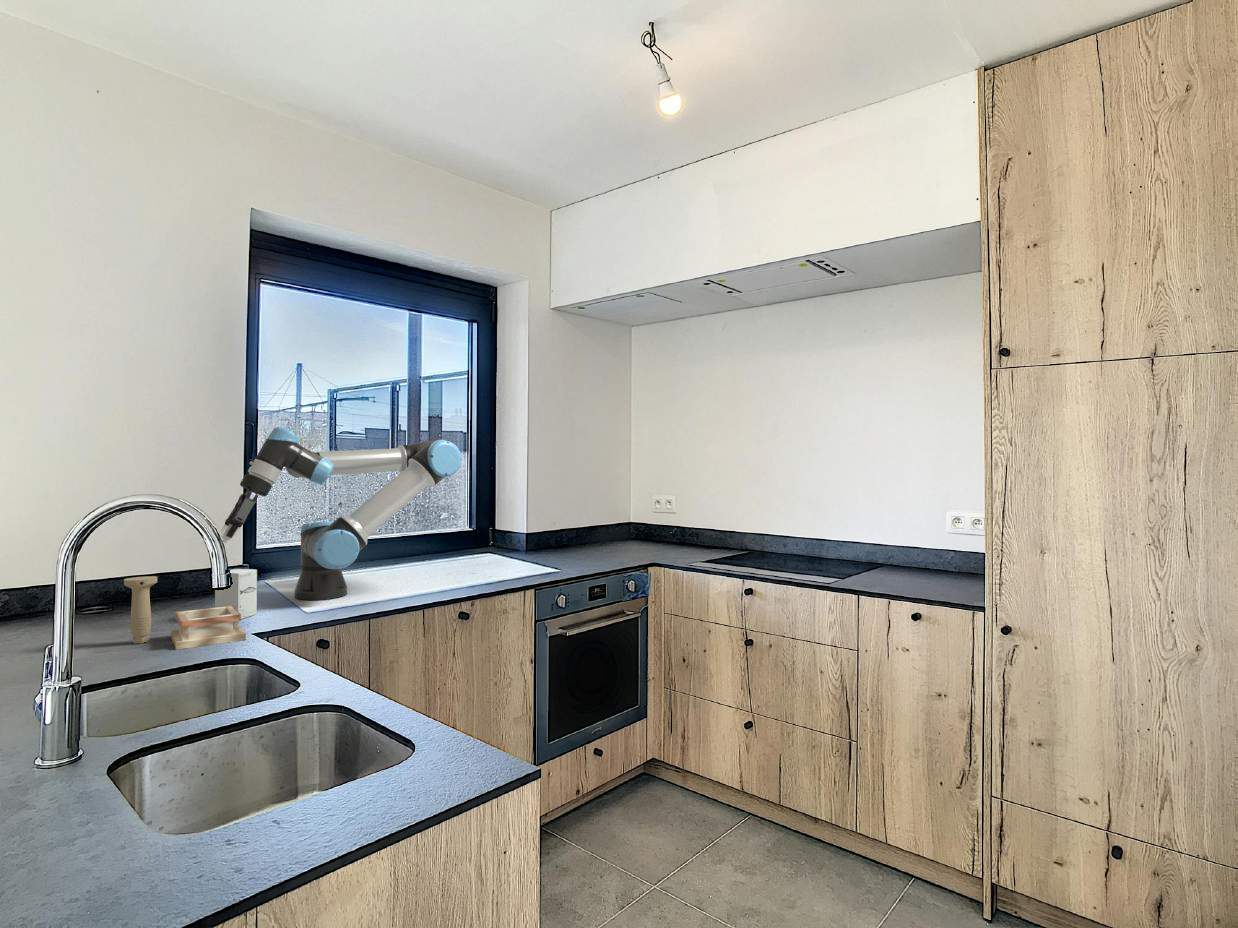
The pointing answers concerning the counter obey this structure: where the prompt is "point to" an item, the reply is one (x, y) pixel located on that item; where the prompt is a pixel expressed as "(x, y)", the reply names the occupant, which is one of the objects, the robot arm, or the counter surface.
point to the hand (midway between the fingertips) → (218, 548)
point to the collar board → (207, 627)
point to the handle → (140, 607)
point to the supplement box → (240, 592)
